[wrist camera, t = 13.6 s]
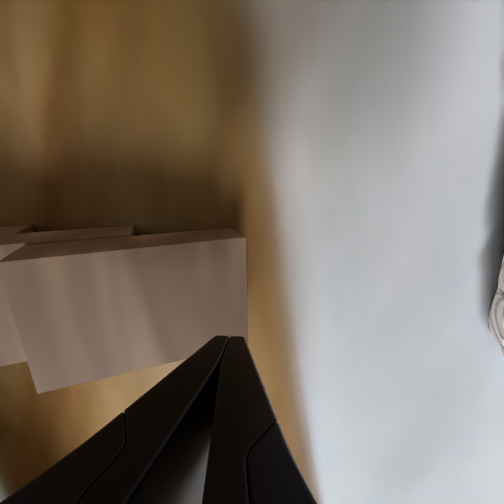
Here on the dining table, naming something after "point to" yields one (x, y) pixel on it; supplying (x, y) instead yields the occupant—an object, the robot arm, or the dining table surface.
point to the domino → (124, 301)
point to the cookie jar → (498, 311)
